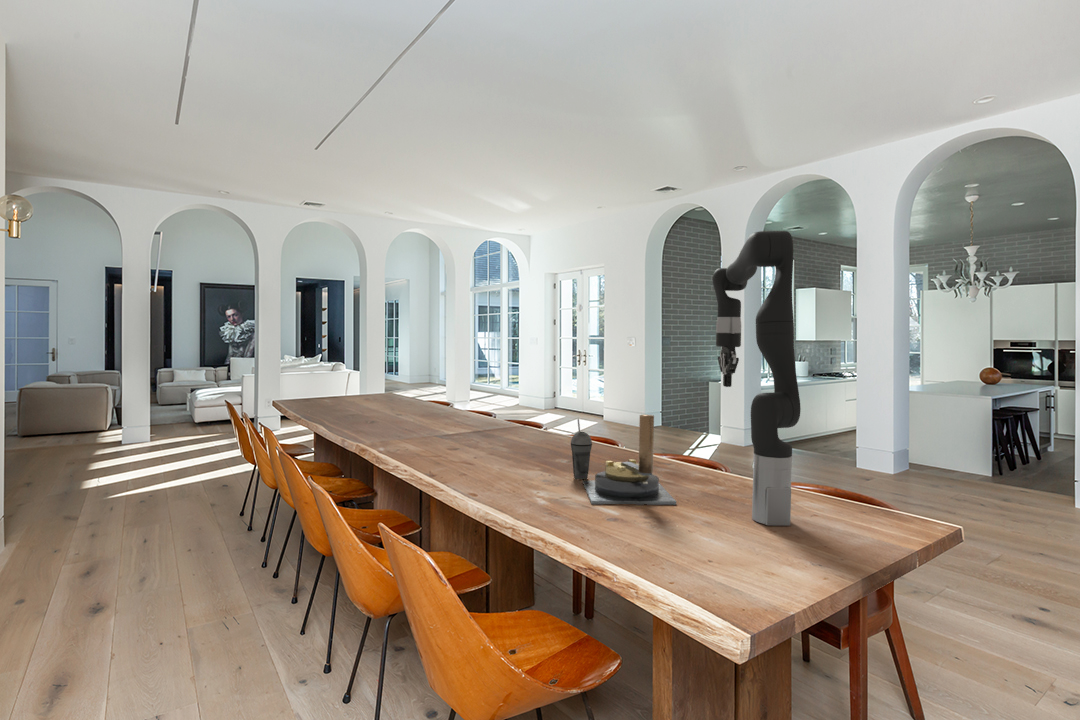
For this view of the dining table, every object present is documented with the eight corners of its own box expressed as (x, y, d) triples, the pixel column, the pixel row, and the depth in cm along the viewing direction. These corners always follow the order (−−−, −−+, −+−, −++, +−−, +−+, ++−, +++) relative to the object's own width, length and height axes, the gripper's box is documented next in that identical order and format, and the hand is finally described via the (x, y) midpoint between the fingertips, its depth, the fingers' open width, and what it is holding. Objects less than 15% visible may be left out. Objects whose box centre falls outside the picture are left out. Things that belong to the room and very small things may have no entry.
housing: (676, 504, 166) (676, 486, 166) (591, 504, 165) (591, 485, 165) (657, 484, 190) (657, 467, 190) (582, 483, 189) (583, 467, 189)
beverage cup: (592, 481, 193) (593, 420, 192) (570, 480, 193) (571, 419, 192) (590, 476, 200) (591, 417, 199) (569, 475, 200) (570, 417, 199)
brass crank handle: (598, 473, 181) (599, 409, 181) (635, 470, 186) (636, 407, 185) (628, 488, 163) (629, 417, 162) (669, 485, 167) (670, 415, 167)
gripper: (710, 331, 192) (708, 384, 193) (723, 331, 179) (722, 388, 180) (732, 332, 193) (731, 385, 193) (748, 331, 179) (746, 388, 180)
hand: (727, 386), depth 186 cm, fingers closed
